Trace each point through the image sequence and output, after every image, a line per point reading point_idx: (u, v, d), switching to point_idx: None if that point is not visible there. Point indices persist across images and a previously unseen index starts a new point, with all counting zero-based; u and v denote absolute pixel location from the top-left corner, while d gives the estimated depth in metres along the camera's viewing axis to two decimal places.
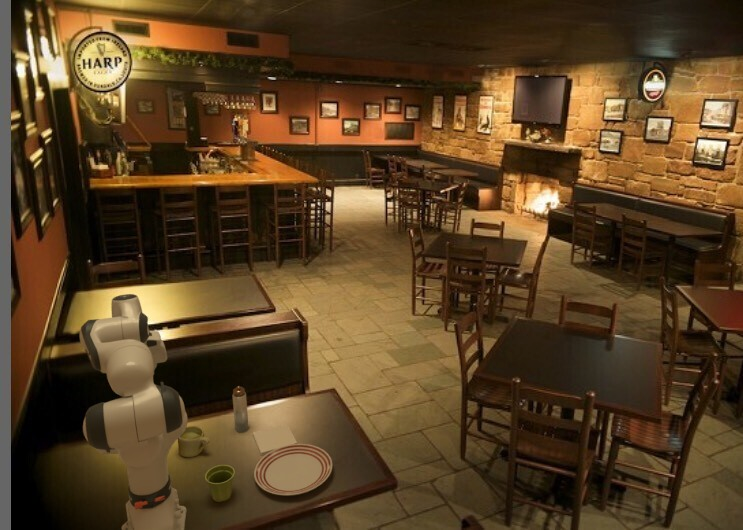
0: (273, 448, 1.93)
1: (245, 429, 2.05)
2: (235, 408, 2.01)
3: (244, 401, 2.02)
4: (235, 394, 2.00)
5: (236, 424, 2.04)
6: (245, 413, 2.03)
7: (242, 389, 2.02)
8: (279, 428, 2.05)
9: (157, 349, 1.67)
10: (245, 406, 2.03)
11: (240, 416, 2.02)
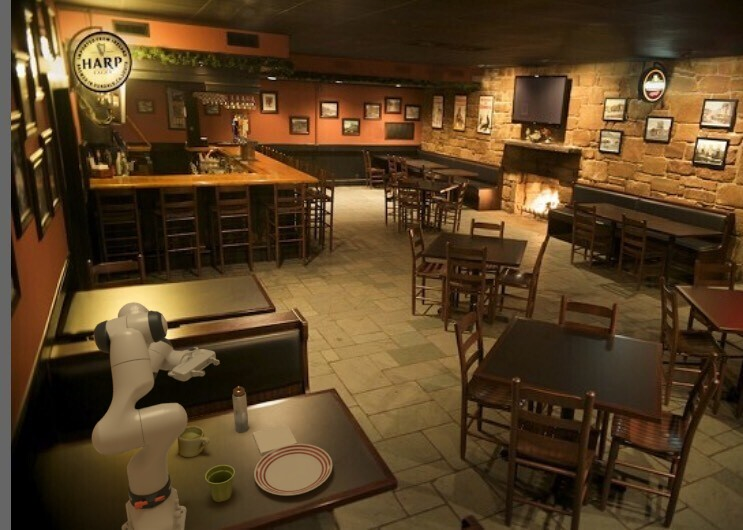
0: (273, 448, 1.93)
1: (245, 429, 2.05)
2: (235, 408, 2.01)
3: (244, 401, 2.02)
4: (235, 394, 2.00)
5: (236, 424, 2.04)
6: (245, 413, 2.03)
7: (242, 389, 2.02)
8: (279, 428, 2.05)
9: (201, 352, 2.13)
10: (245, 406, 2.03)
11: (240, 416, 2.02)
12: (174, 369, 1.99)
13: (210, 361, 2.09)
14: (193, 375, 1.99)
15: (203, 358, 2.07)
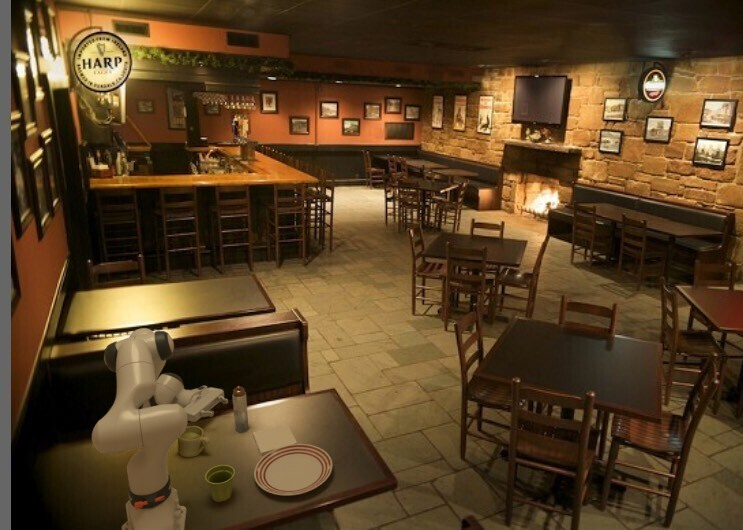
0: (273, 448, 1.93)
1: (245, 429, 2.05)
2: (235, 408, 2.01)
3: (244, 401, 2.02)
4: (235, 394, 2.00)
5: (236, 424, 2.04)
6: (245, 413, 2.03)
7: (242, 389, 2.02)
8: (279, 428, 2.05)
9: (210, 390, 2.17)
10: (245, 406, 2.03)
11: (240, 416, 2.02)
12: (184, 410, 2.03)
13: (219, 400, 2.13)
14: (202, 415, 2.03)
15: (212, 397, 2.11)
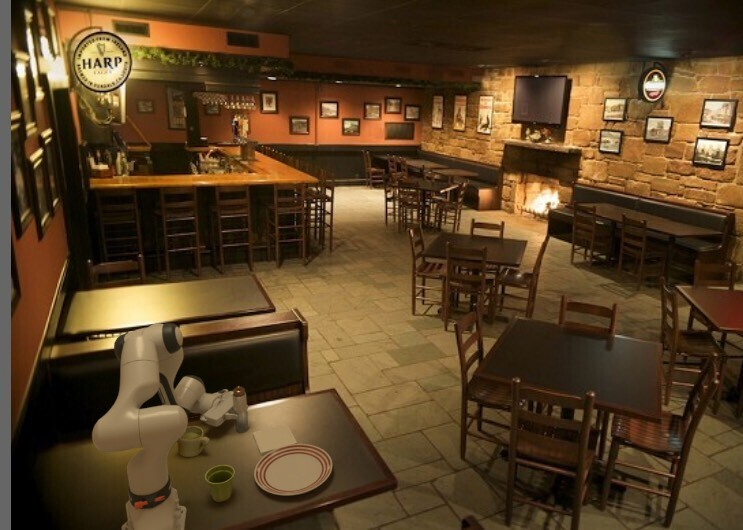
0: (273, 448, 1.93)
1: (245, 429, 2.05)
2: (235, 408, 2.01)
3: (244, 401, 2.02)
4: (235, 394, 2.00)
5: (236, 424, 2.04)
6: (245, 413, 2.03)
7: (242, 389, 2.02)
8: (279, 428, 2.05)
9: (231, 394, 2.13)
10: (245, 406, 2.03)
11: (240, 416, 2.02)
12: (206, 414, 1.99)
13: None
14: (227, 418, 2.01)
15: None
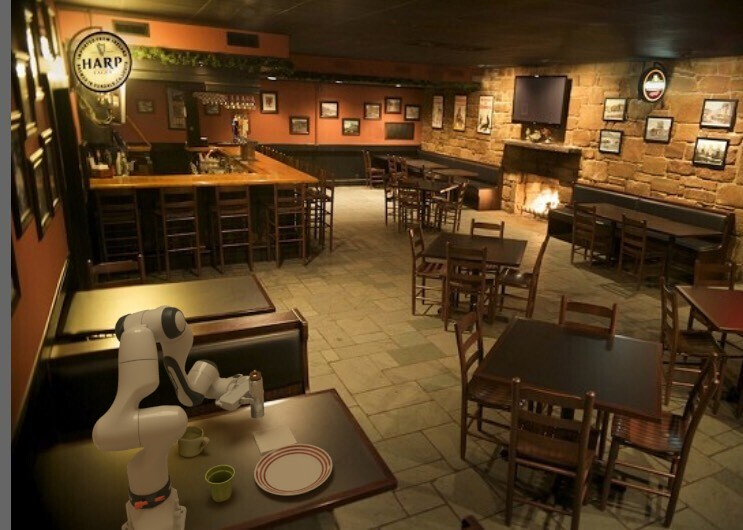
0: (273, 448, 1.93)
1: (261, 415, 1.98)
2: (251, 393, 1.95)
3: (260, 386, 1.95)
4: (251, 378, 1.93)
5: (252, 410, 1.97)
6: (261, 398, 1.97)
7: (258, 373, 1.95)
8: (279, 428, 2.05)
9: (246, 379, 2.07)
10: (261, 391, 1.96)
11: (256, 402, 1.96)
12: (221, 398, 1.93)
13: None
14: (243, 402, 1.94)
15: None
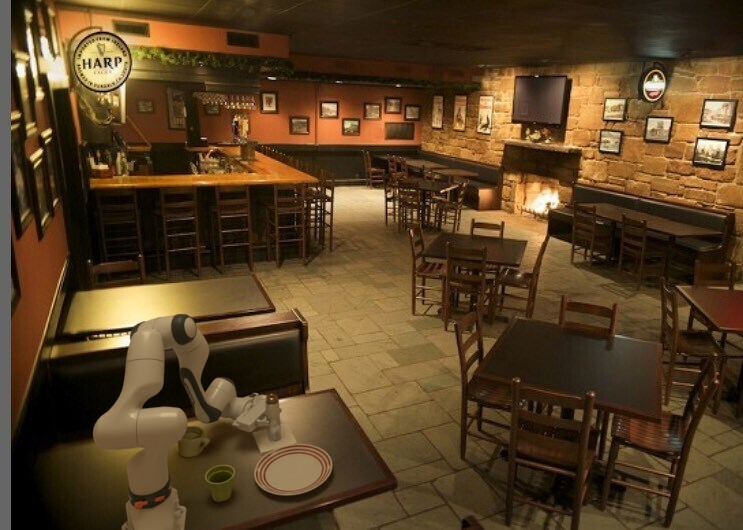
0: (273, 448, 1.93)
1: (278, 438, 1.97)
2: (268, 416, 1.94)
3: (277, 409, 1.94)
4: (268, 401, 1.92)
5: (269, 433, 1.96)
6: (278, 421, 1.96)
7: (275, 396, 1.94)
8: None
9: (262, 398, 2.06)
10: (278, 414, 1.95)
11: (273, 425, 1.95)
12: (238, 419, 1.91)
13: None
14: (258, 425, 1.92)
15: None
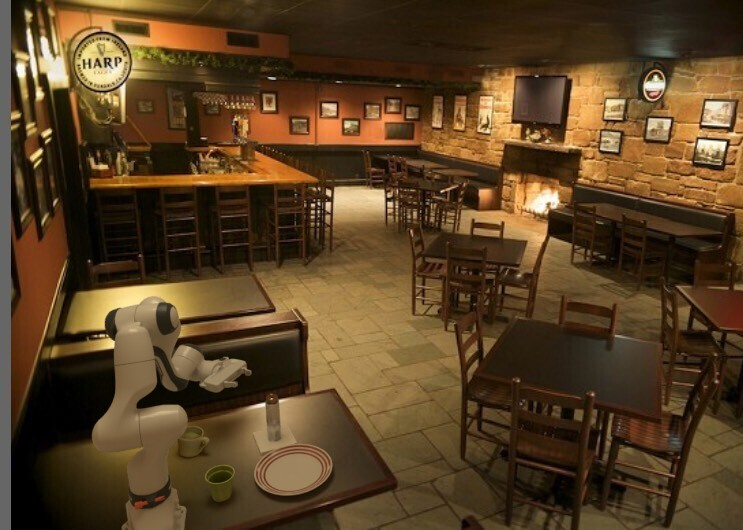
0: (273, 448, 1.93)
1: (278, 438, 1.97)
2: (268, 416, 1.94)
3: (277, 409, 1.94)
4: (268, 402, 1.92)
5: (269, 433, 1.96)
6: (278, 421, 1.96)
7: (275, 396, 1.94)
8: None
9: (232, 361, 2.06)
10: (278, 414, 1.95)
11: (273, 425, 1.95)
12: (206, 380, 1.92)
13: (241, 371, 2.02)
14: (225, 386, 1.92)
15: (234, 368, 2.00)
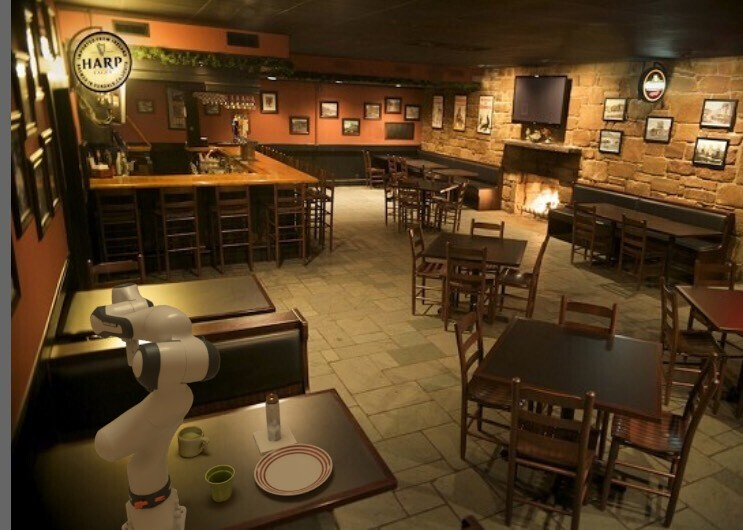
0: (273, 448, 1.93)
1: (278, 438, 1.97)
2: (268, 416, 1.94)
3: (277, 409, 1.94)
4: (268, 401, 1.92)
5: (269, 433, 1.96)
6: (278, 421, 1.96)
7: (275, 396, 1.94)
8: None
9: None
10: (278, 414, 1.95)
11: (273, 425, 1.95)
12: (138, 346, 1.66)
13: None
14: (133, 365, 1.69)
15: None
